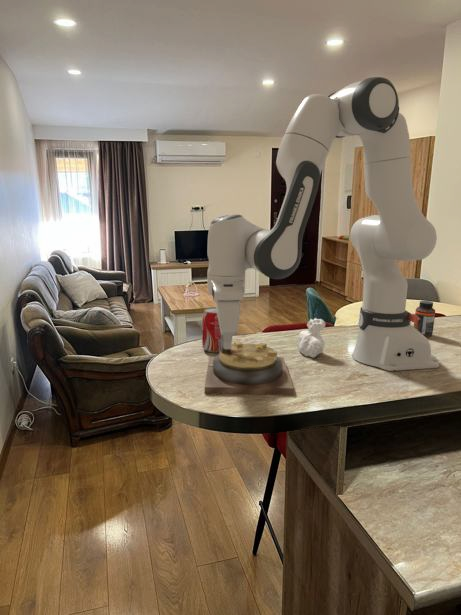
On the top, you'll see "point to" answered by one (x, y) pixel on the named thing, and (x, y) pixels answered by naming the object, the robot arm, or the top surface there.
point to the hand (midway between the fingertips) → (225, 341)
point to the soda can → (211, 331)
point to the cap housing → (247, 379)
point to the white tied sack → (311, 338)
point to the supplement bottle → (425, 318)
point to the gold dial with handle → (247, 356)
